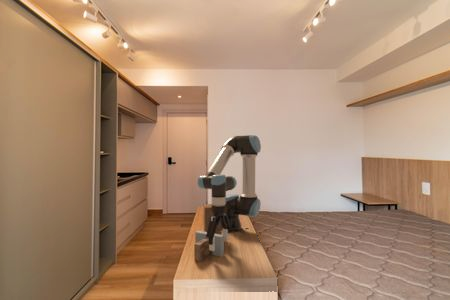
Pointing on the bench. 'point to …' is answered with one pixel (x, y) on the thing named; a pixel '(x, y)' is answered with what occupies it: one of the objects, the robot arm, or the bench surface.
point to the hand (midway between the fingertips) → (218, 245)
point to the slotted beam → (202, 248)
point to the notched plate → (218, 242)
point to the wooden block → (207, 217)
